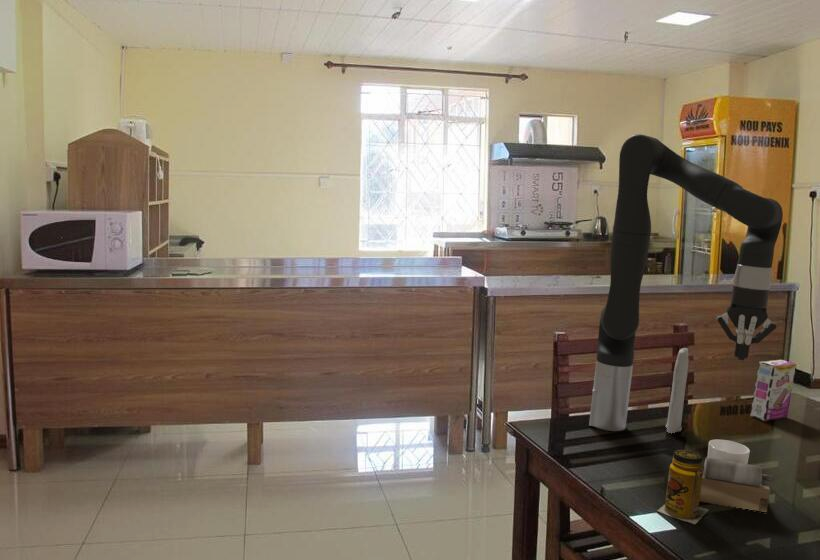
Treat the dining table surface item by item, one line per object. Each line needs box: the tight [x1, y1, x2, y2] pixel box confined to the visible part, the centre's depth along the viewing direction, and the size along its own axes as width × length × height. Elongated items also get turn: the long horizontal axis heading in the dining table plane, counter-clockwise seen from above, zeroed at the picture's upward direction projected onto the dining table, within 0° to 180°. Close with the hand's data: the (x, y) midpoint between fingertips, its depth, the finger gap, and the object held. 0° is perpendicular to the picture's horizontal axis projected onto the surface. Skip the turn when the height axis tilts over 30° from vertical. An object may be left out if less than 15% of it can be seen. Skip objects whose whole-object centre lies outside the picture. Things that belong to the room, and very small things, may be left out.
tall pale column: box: [665, 347, 689, 435], centre depth 181 cm, size 11×4×22 cm, turn 148°
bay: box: [699, 457, 775, 513], centre depth 145 cm, size 18×14×9 cm
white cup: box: [706, 439, 751, 464], centre depth 144 cm, size 8×8×10 cm
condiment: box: [656, 449, 709, 525], centre depth 134 cm, size 7×8×12 cm
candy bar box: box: [749, 359, 797, 422], centre depth 198 cm, size 11×5×16 cm, turn 120°
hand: (740, 359), depth 159 cm, fingers closed
